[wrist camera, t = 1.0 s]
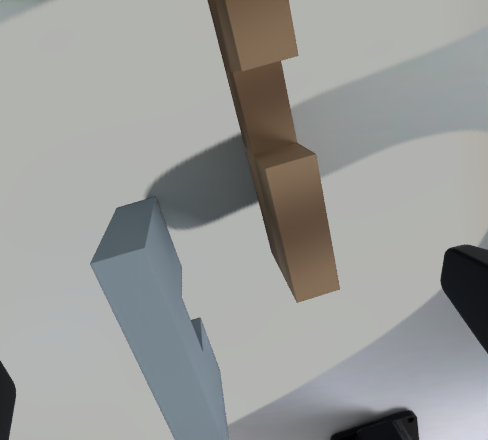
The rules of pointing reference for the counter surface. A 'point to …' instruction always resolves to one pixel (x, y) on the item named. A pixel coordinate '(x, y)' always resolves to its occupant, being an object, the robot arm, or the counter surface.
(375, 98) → the counter surface
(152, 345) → the slate block
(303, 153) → the walnut board
